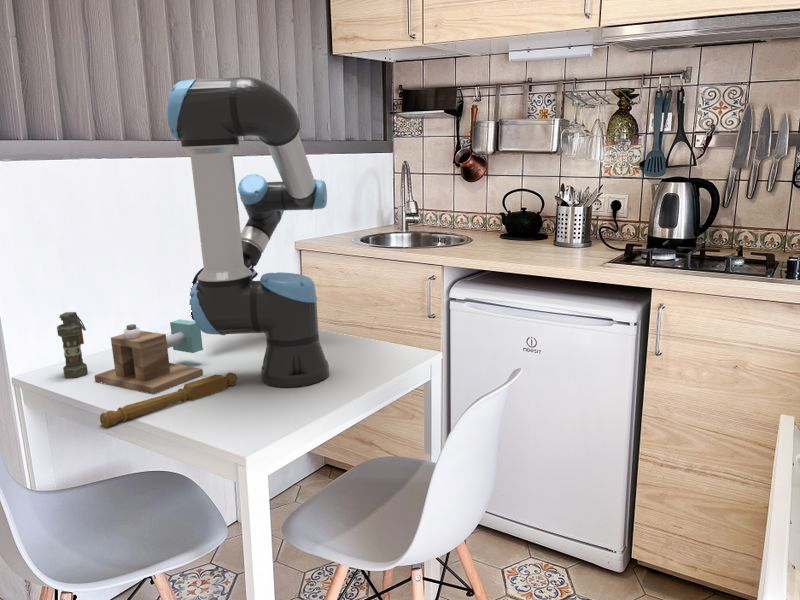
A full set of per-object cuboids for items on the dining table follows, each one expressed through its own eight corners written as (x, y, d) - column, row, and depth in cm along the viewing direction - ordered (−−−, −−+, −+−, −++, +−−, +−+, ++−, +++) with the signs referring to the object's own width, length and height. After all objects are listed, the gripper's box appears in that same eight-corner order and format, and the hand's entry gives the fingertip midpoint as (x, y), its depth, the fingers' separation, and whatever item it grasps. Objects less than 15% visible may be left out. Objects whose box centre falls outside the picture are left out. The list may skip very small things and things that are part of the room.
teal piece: (202, 349, 164) (199, 321, 163) (161, 364, 154) (157, 334, 152) (182, 346, 168) (179, 319, 166) (141, 360, 157) (137, 331, 156)
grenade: (85, 377, 158) (76, 315, 155) (59, 378, 158) (49, 316, 155) (98, 369, 164) (89, 309, 161) (72, 370, 164) (63, 310, 161)
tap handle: (98, 411, 128) (231, 369, 150) (100, 426, 129) (232, 382, 151) (105, 415, 126) (239, 372, 148) (107, 430, 127) (240, 385, 149)
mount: (203, 374, 156) (198, 331, 154) (153, 394, 145) (147, 347, 142) (145, 364, 166) (140, 323, 164) (95, 381, 155) (88, 337, 153)
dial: (143, 336, 151) (141, 324, 151) (131, 340, 149) (129, 327, 148) (133, 335, 153) (132, 323, 152) (121, 338, 150) (120, 326, 150)
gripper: (275, 257, 180) (236, 333, 170) (239, 254, 187) (200, 327, 176) (260, 240, 174) (218, 317, 164) (223, 238, 181) (181, 312, 171)
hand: (209, 322), depth 170 cm, fingers closed
